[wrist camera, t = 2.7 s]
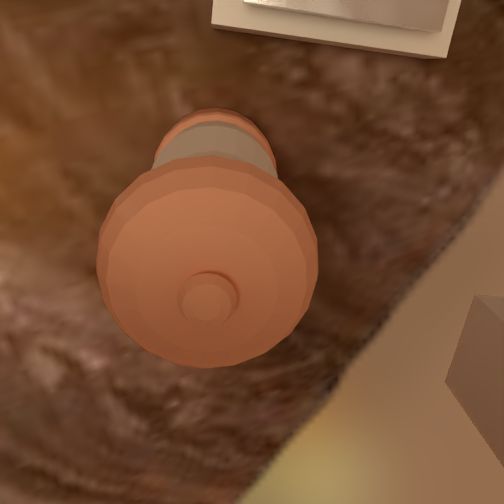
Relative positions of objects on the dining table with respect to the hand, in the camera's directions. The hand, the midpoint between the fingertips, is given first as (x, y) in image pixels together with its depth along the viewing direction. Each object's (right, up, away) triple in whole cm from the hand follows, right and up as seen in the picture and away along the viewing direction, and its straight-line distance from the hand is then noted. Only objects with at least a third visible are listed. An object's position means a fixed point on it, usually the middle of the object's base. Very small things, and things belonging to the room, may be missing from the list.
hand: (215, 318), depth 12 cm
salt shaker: (-1, +7, +19) cm, 20 cm away
